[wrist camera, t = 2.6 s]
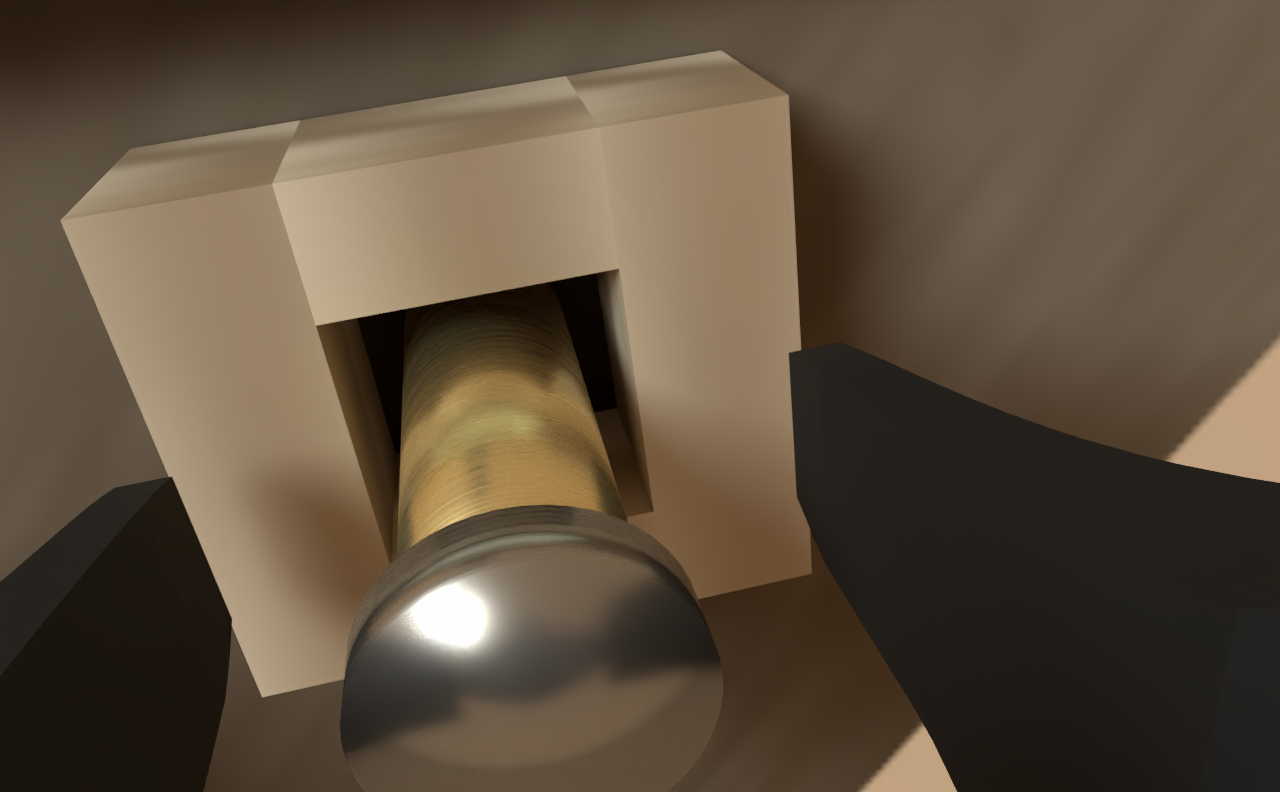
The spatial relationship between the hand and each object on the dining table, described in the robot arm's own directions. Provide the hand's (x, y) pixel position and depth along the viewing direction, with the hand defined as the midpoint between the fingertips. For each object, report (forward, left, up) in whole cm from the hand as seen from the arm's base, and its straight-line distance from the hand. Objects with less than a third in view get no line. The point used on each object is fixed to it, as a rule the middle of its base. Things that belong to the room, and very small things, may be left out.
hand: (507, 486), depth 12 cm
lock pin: (0, 0, -4) cm, 4 cm away
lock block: (0, 0, -4) cm, 4 cm away
